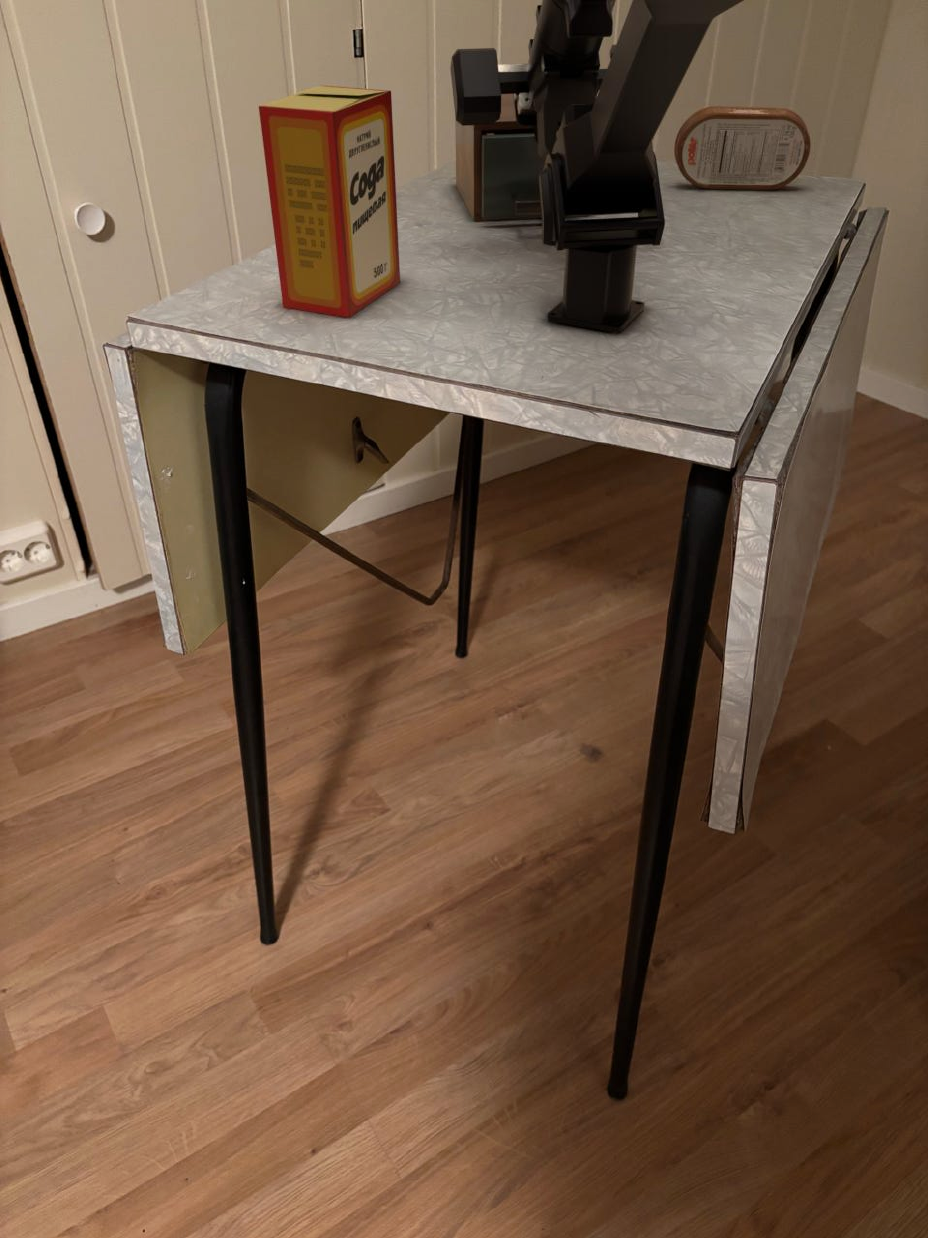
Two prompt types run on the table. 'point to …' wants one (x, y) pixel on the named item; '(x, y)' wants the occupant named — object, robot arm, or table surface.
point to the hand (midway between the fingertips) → (540, 138)
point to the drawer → (510, 174)
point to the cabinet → (479, 156)
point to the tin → (742, 147)
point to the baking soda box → (332, 197)
